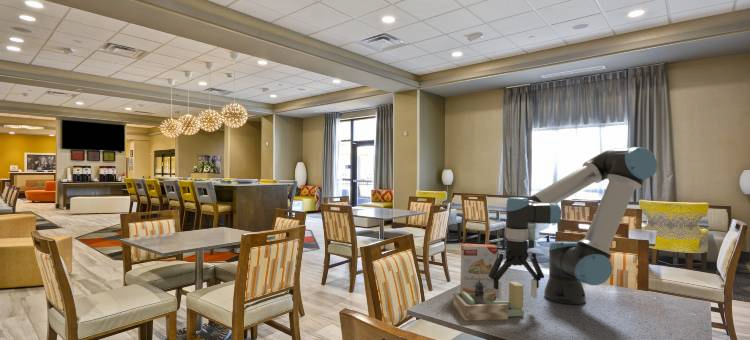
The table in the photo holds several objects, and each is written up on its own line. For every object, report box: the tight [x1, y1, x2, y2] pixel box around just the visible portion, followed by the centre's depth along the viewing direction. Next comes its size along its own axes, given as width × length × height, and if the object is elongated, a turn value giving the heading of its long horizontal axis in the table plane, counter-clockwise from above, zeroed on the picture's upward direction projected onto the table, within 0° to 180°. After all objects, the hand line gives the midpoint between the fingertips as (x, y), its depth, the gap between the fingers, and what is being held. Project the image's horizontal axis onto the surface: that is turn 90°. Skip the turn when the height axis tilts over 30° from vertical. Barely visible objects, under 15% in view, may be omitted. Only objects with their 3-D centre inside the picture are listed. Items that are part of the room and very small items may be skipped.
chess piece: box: [474, 280, 487, 305], centre depth 143 cm, size 6×6×12 cm
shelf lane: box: [453, 293, 509, 321], centre depth 143 cm, size 15×13×5 cm
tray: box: [462, 281, 525, 317], centre depth 143 cm, size 20×10×10 cm, turn 96°
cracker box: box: [459, 243, 499, 299], centre depth 162 cm, size 14×6×21 cm, turn 88°
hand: (516, 297), depth 144 cm, fingers open, 13 cm apart
